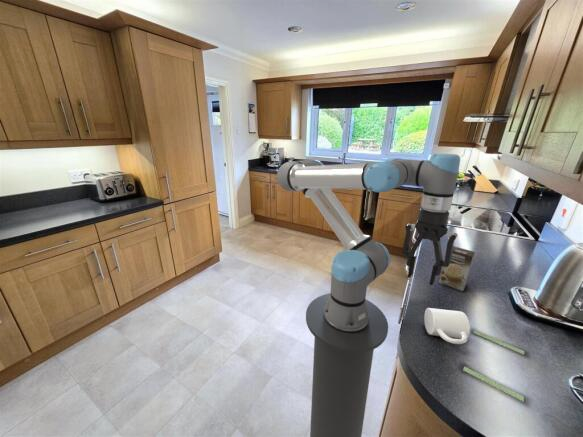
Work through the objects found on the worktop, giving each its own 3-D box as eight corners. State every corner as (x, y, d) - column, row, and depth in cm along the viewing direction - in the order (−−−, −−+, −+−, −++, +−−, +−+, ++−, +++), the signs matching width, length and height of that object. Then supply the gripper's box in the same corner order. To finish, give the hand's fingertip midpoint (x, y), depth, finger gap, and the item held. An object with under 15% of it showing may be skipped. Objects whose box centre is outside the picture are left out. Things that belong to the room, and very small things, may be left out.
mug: (422, 322, 82) (426, 302, 80) (454, 326, 80) (459, 306, 78) (436, 351, 71) (441, 329, 68) (473, 356, 69) (480, 334, 67)
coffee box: (438, 283, 105) (445, 249, 100) (441, 277, 109) (449, 244, 104) (463, 291, 99) (472, 256, 94) (466, 285, 103) (475, 251, 98)
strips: (463, 370, 65) (463, 369, 65) (474, 330, 79) (474, 330, 78) (523, 402, 57) (523, 401, 57) (523, 351, 71) (524, 351, 71)
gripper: (396, 205, 73) (386, 273, 80) (471, 219, 61) (452, 297, 68) (405, 201, 78) (395, 265, 85) (476, 212, 66) (457, 285, 73)
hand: (420, 279), depth 77 cm, fingers open, 6 cm apart
